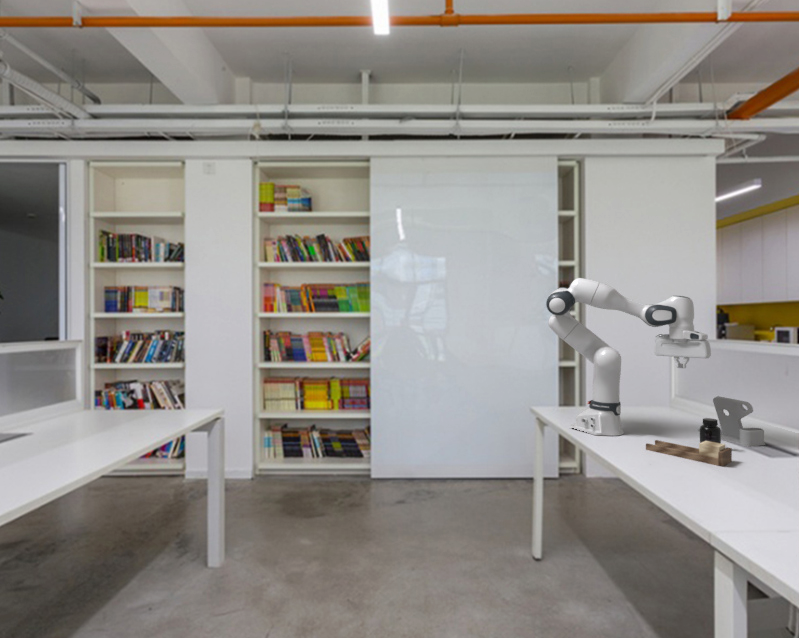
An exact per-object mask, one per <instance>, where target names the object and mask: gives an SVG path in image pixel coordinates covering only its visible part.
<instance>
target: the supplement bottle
mask: <svg viewBox="0 0 799 638" xmlns="http://www.w3.org/2000/svg"><path fill="white" fill-rule="evenodd" d="M718 425H719V424H718V419H715V418H710V417H709V418H707V417H705V418H702V425H700V427H699V443H701V442H704V441H710V442H716V443H721V444H722V441H721V440H722V439H721V434H722V429H721V427H719V426H718Z"/></svg>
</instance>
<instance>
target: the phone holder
mask: <svg viewBox="0 0 799 638" xmlns="http://www.w3.org/2000/svg"><path fill="white" fill-rule="evenodd" d="M712 403H713V405H714V409H715V412H716V415H717V420H718V422H719V425H720V430H721V440H722V441H726V442H729V443H733V444H737V445H739V446H743V447H747V446H748V448H749V447H751V446H753V447H760V446H759V445H765V446H766V443H765V429H763V428H761V427H760V428H759V427H743V426H744V425H743V424H742V419H743V418H745V417H746V416H748V415H750V414H752V413H753V412H754V407H753V406H752V404H751V403H750V402H748V401H745V400H740V399H736V398H728V397H726V396H725V397H723V396H719V395H718V396H716V397H714V398H713V399H712ZM744 406H745V407H746V408H747V409H746V408H745V407H744ZM724 410H725V411H726V412H728V415H727V414H726V413H725V412H724ZM751 448H752V447H751Z"/></svg>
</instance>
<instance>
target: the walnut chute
mask: <svg viewBox="0 0 799 638" xmlns="http://www.w3.org/2000/svg"><path fill="white" fill-rule="evenodd" d="M645 451H650V452H655V453H660V454H664V455H668V456H673V457H677V458H680V459H681V458H682V459H687V460H691V461H694V462H700V463H703V464H704V463H705V464H709V465H713V466H717V467H725V466H727V465H729V464H730V463H732V461H733V460H732V458H733V457H732V452H733V451H732V447H725V449H723V450H721V451H719V452H718V458H714V457H709V456H705V455H700V454H699V447H698V448H697V447H692V446H688V445H687V446H686V445H684V444H683V445H682V444H679V443H673V442H668V441H664V440H658V439H654V444H652V443H645Z"/></svg>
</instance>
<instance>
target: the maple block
mask: <svg viewBox="0 0 799 638" xmlns="http://www.w3.org/2000/svg"><path fill="white" fill-rule="evenodd" d="M725 448H726V444H725V443H722V442H721V443H716V442H710V441H704V442H701V443H700V442H699V444H698V449H699V454H700V455H705V456H709V457H714V458H718V452H719V451H721V450H723V449H725Z"/></svg>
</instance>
